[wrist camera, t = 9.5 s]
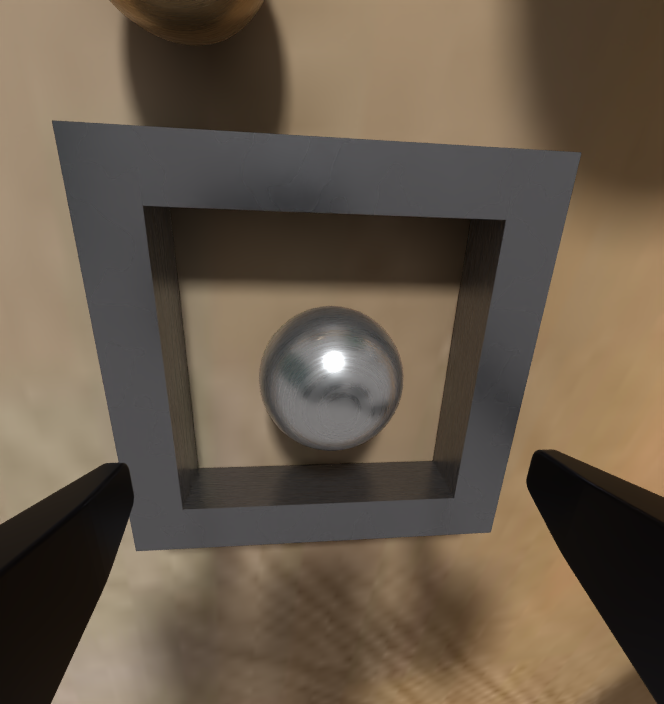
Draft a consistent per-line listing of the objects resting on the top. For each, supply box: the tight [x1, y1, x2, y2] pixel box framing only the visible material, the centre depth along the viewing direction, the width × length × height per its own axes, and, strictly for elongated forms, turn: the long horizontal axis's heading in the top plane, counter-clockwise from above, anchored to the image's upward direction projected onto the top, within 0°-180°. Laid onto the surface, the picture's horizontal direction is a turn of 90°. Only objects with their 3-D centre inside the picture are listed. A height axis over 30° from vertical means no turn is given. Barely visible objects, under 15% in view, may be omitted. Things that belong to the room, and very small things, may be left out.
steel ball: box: [259, 306, 403, 451], centre depth 13 cm, size 5×5×5 cm
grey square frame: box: [52, 121, 581, 551], centre depth 14 cm, size 15×15×2 cm
